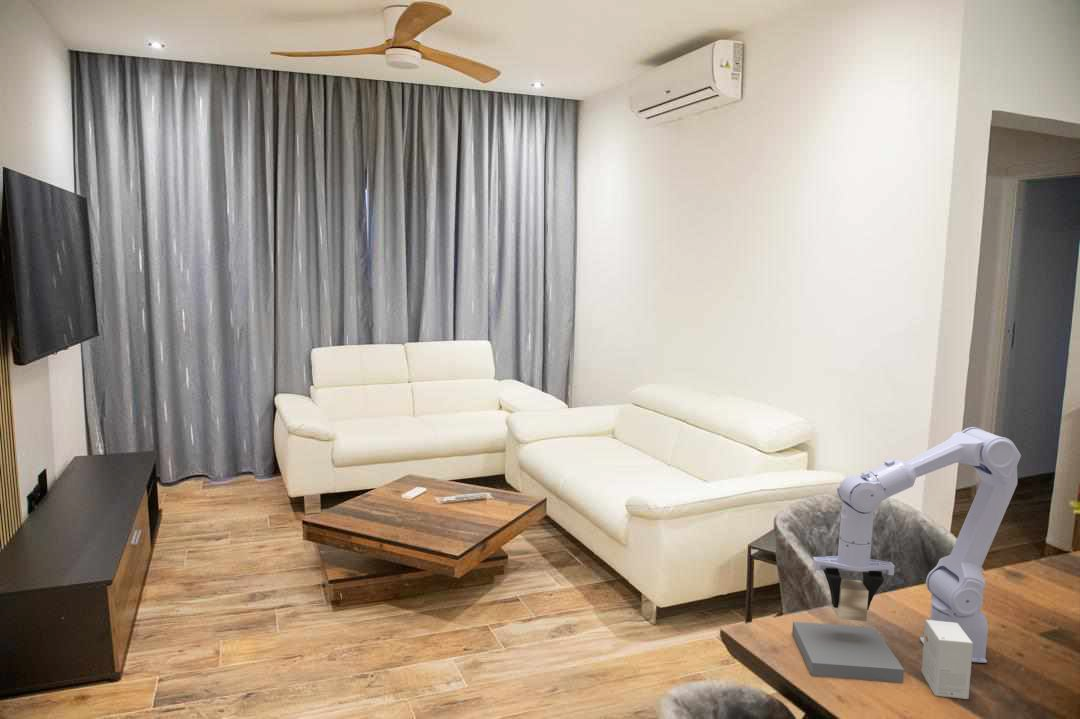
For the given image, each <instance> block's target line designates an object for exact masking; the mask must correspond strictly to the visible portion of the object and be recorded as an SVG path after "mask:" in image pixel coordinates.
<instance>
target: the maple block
mask: <svg viewBox="0 0 1080 719" xmlns="http://www.w3.org/2000/svg"><path fill="white" fill-rule="evenodd" d="M868 593H869V591H868V590H867V588H866V587H865V586H864V584H863V581H862V580H858V579H846V578H845V579H844V578H842V580H841V585H840V590H839V605H838V608H834V606H833V605H832V604H831V608H832V609H833V612H834V613H835V614H836V616H837V618H838V620H845V621H858V622H859V621H860V622H867V618H868V610H867V606H868Z"/></svg>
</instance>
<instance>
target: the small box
mask: <svg viewBox="0 0 1080 719" xmlns="http://www.w3.org/2000/svg"><path fill="white" fill-rule="evenodd" d="M923 637H924V644H922V645H923V648H922V658H921V659H922V660H921V672H920V673H921V674H922V676H923V678H924V679H925V681H926V683H927V684H928V686H929V688H930V689H931V691H932V693H933V695H934V696H935V697H945V698H953V699H964V700H969V696H970V685H971V674H972V663H973V662H972V651H973V642H972V641H971V640H970V639H969V637H968V636H967V635H966V633H965V632H964V631H963V630H962V628H961V627H960V626H959V624H958V623H954V622H945V621H935V620H930V619H925V621H924V634H923Z"/></svg>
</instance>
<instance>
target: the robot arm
mask: <svg viewBox="0 0 1080 719" xmlns="http://www.w3.org/2000/svg"><path fill="white" fill-rule="evenodd" d="M1021 457H1022V455H1021V453H1020V452H1019V449H1018V448H1017V447H1016V445H1015V443H1014V442H1013V441H1012V440H1011V439H1009V438H1008V437H1004V436H1000V435H997V434H994V433H991V432H989V431H985V430H984V429H982V428H980V427H977V426H970V427H966V428H964V429H963V430H962V431H957V432H954V433H953V434H952V435H951V436H950V437H949V438H948V439H947V440H944V441H943V442H941V443H939V444H937V445H934V446H933V447H931V448H929V449H927V450H926V451H923V452H922V453H920V454H918V455H916V456H914V457H912V458H910V459H909V460H907V461H904V460H901V459H899V458H898V459H897V458H896V459H894V460H893V459H891V458H888V459H887V460H884V464H882V465H880V466H878V467H876V468H874V469H872V470H869V471H868V470H865V471H862V472H861V475H855V474H854V475H849V476H847V477H845V478H844V479H843V480H842V482H840V484H839V487H837V488H836V492H837V497H838V498H839V499H840V500H841V511H840V520H839V521H840V524H839V533H838V534H839V536H838V546H837V547H838V548H837V549H838V550H837V555H830V556H829V555H828V556H813V557H812V558H813V559H812V567H813V569H814V570H815V571H821V570H823V573H824V575H825V578H826V581H827V584H828V588H829V591H830V599H831V606H832V605H833V606H834V608H838V605H839V590H840V585H841V580H842V579H843V577H841V574H840V571H843V572H844V571H845V572H857V573H858V572H859V573H862V583H863V584H864V586H865V587H866V588H867V590H868V591H869V593H868V606H867V611H869V609H870V605H871V604H872V601H873V599H874V596H875V595H876V593H877V591H878V589H879V588H880V587H881V586H882V585H883V584H884V581H885V580H884V576H883V574H885V575H888V576H894V575H895V564H894V563H892V561H885V560H879V559H872V558H871V551H872V550H871V549H872V540H873V539H872V538H873V525H874V512H875V511H876V510H878V508H879V507H880V505H881V504H882V502H883V501H885V500H886V499H888V498H890V497H892V496H895V495H896V494H899V493H901V492H904V491H907V490H909V489H910V488H913V487H914V485H915V482H916V479H917V478H919V477H922V476H926V475H928V474H930V473H932V472H935V471H938V470H940V469H944V468H946V467H949V466H950V465H953V464H956V463H957V464H964V465H970V466H972V468H974V470H975V472H976V475H978V478H980V484H979V487H978V489H977V491H976V494H975V496H974V499H973V501H972V503H971V506H970V507H969V510H968V513H967V515H966V517H965V519H964V522H963V524H962V527H961V529H960V531H959V534H958V535H957V538H956V540H955V542H954V545H953V547H952V549H951V551H950V554H949V555H946V556H943V557H941V558H940V559H938V562H937V564H936V566H935V567H934V568H933V569H932V570H930V571H929V572H928V574H927V576H926V579H925V585H926V589H927V590H928V591H929V593H931V598H930V600H931V604H930V615H929V616H930V617H929V620H935V621H945V622H954V623H958V624H959V626H960V627H961V628H962V630H963V631H964V632H965V633H966V635H967V636H968V637H969V639H970V640H971V641H972V642H973V651H972V663H978V664H979V663H980V664H982V663H983V664H986V663H987V662H988V660H987V659H986V652H987V643H988V634H989V628H988V626H989V624H988V620H987V617H986V615H985V613H984V612H983V610H981V608H982V607H983V604H984V589H985V587H986V580H985V576H984V574H983V572H982V567H983V565H984V562H985V559H986V558H987V555H988V554H989V551H990V548H991V546H992V544H993V542H994V539H995V537H996V534H997V532H998V530H999V527H1000V525H1001V523H1002V520H1003V518H1004V516H1005V514H1006V511H1007V509H1008V507H1009V504H1010V502H1011V500H1012V497H1013V495H1014V493H1015V491H1016V488H1017V486H1018V464H1019V462H1020V460H1021ZM919 641H920V642H921V643H922V645H924V636H923V637H922V636H920V638H919Z"/></svg>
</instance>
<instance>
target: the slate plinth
mask: <svg viewBox="0 0 1080 719" xmlns="http://www.w3.org/2000/svg"><path fill="white" fill-rule="evenodd" d="M791 633H793V634H792V636H793V635H794V636H793V638H794V640H795V642H796V645H797V647H798V649H799V651H800V654H801V655H802V657H803V660H804V662H805V664H806V667H807V669H808V671H809V673H810V675H811V676H813V677H821V678H822V677H824V678H825V677H826V678H836V679H851V680H863V681H874V682H875V681H879V682H889V683H891V682H892V683H902V684H903V683H904V676H905V669H904V667H903V666H902V665H901V662H900V661H899V660H898V658H897V657H896V656H895V654H894V653H893V652H892V650H891V648H890V647H889V646H888V644H887V643H886V641H885V640H884V638H883V637H882V636H881V634H880V633H879V631H878V630H877V628H876V627H874V626H862V625H861V626H859V625H846V624H831V623H829V624H828V623H819V622H818V623H816V622H803V621H792V632H791Z"/></svg>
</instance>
